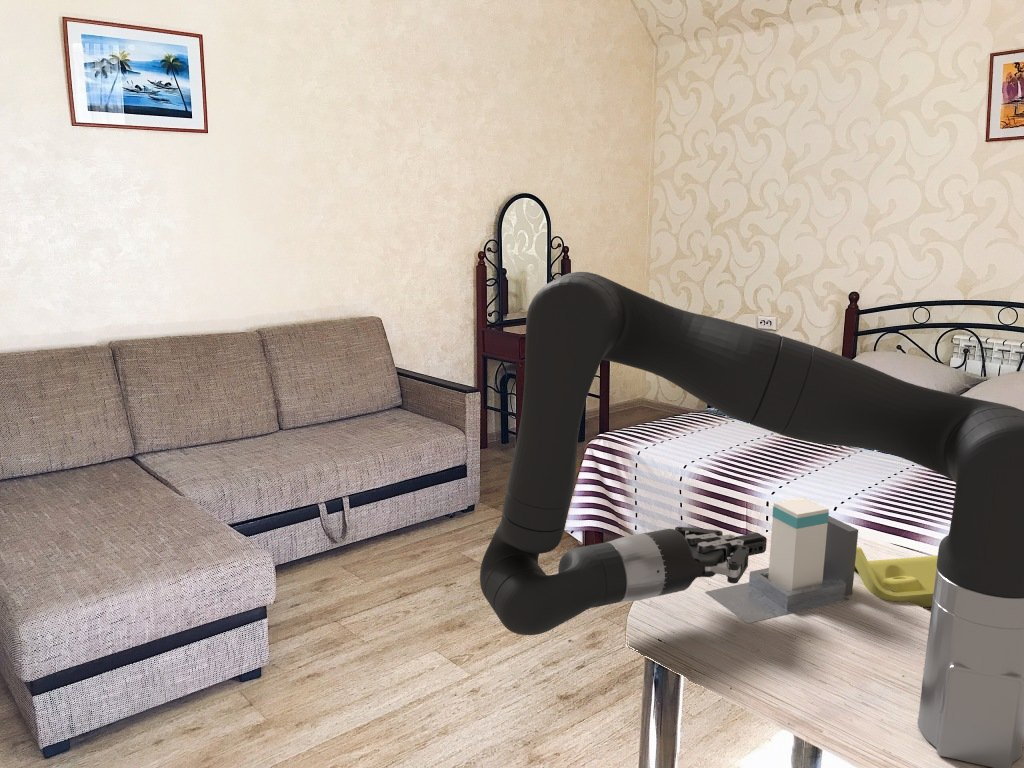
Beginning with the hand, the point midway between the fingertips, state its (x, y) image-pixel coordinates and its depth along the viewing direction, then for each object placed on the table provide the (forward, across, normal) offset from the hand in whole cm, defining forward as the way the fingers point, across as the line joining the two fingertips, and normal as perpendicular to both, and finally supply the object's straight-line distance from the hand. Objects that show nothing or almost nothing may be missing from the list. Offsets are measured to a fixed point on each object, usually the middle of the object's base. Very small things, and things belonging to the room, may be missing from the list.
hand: (762, 542), depth 108 cm
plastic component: (+25, -5, +10) cm, 27 cm away
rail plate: (+3, 0, +10) cm, 10 cm away
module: (+6, 0, +8) cm, 10 cm away
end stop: (+12, 0, +10) cm, 15 cm away
